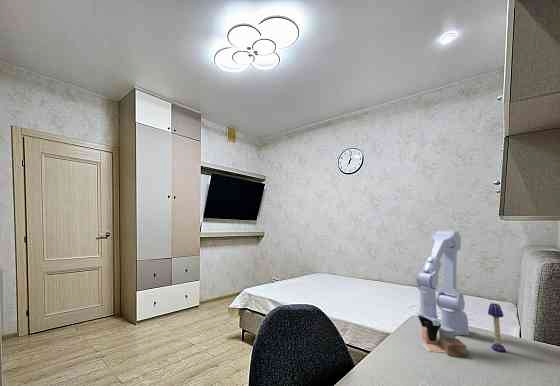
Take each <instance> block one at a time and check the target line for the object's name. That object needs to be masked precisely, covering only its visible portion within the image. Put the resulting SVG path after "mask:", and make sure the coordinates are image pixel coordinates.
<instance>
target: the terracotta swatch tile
mask: <svg viewBox="0 0 560 386" xmlns="http://www.w3.org/2000/svg"><path fill="white" fill-rule="evenodd" d="M422 346H423V347H424V348H425V349H426V350H427V351H428V352H433V353H445V354H446V352H445V351H444V350H443V349H442V348H441V345H439V344H427V343H422Z"/></svg>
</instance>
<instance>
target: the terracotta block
mask: <svg viewBox="0 0 560 386" xmlns="http://www.w3.org/2000/svg"><path fill="white" fill-rule="evenodd" d="M421 328H422V340H423V342H425V344H434V345H438V335H437V336H436V341H430V340H429V338H428V332H427V328H426V327H422V326H421Z"/></svg>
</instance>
